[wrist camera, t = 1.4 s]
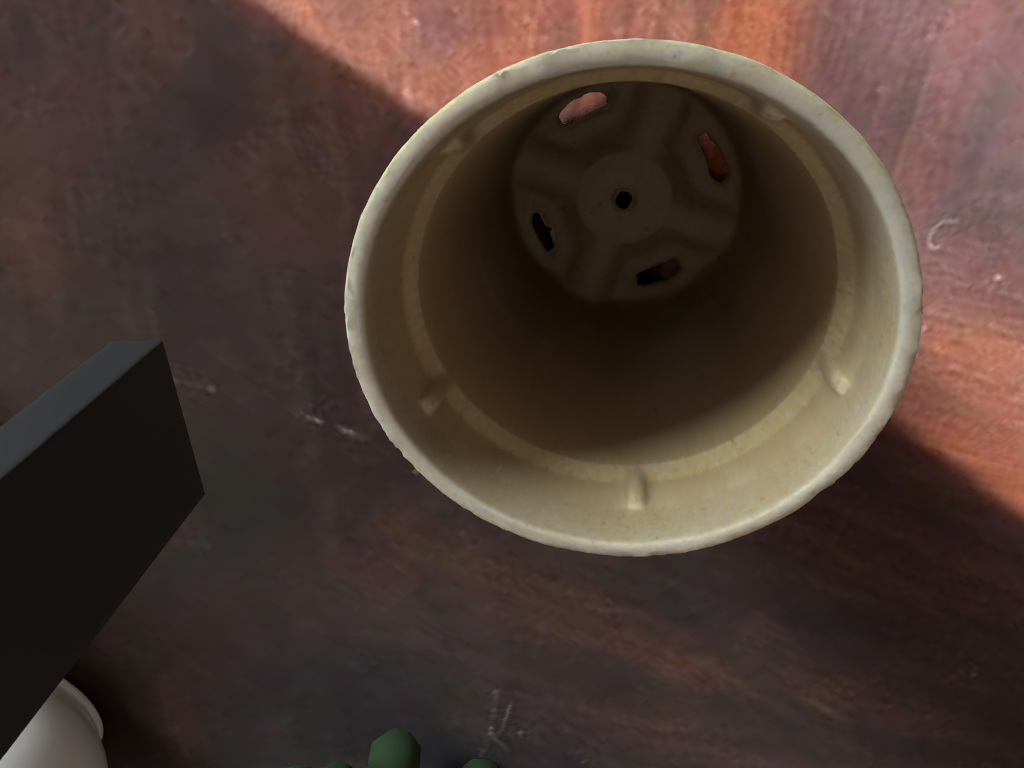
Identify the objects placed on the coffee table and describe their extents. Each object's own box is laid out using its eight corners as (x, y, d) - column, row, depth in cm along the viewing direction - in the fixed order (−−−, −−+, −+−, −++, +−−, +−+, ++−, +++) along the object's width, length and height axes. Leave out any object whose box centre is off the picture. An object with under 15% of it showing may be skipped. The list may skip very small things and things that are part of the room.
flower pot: (630, 412, 24) (632, 631, 16) (378, 214, 21) (247, 361, 14) (891, 178, 19) (1059, 330, 12) (609, -101, 17) (597, -128, 10)
